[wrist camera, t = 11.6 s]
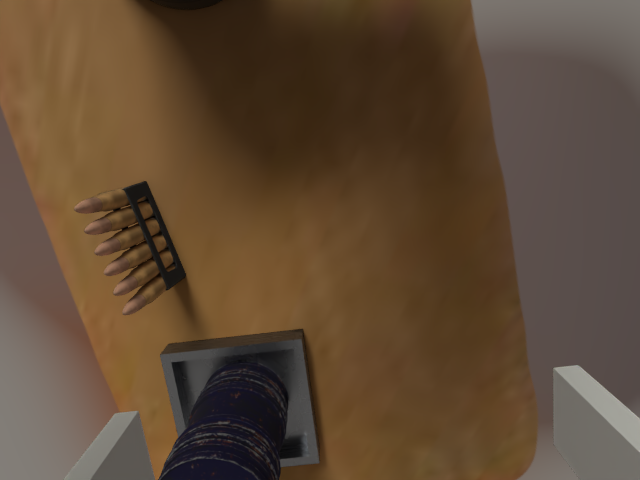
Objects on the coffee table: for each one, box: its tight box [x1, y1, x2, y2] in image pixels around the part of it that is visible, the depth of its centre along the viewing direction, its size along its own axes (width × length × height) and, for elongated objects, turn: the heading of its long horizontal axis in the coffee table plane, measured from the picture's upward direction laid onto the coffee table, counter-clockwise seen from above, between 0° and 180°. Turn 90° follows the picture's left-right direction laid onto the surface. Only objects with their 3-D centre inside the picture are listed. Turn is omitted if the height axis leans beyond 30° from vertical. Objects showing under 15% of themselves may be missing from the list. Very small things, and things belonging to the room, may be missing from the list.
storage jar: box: [158, 361, 289, 480], centre depth 41 cm, size 10×10×15 cm
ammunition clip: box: [74, 181, 186, 315], centre depth 39 cm, size 11×2×12 cm, turn 19°
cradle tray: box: [160, 329, 320, 467], centre depth 48 cm, size 15×15×2 cm
